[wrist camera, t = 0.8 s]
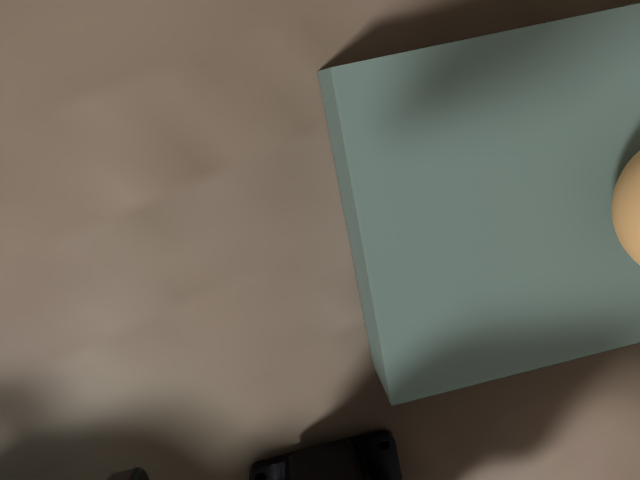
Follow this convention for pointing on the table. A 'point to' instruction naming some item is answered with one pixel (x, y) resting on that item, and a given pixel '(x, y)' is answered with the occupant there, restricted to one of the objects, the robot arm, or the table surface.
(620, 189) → the ball
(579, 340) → the deck
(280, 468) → the robot arm
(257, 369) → the table surface
